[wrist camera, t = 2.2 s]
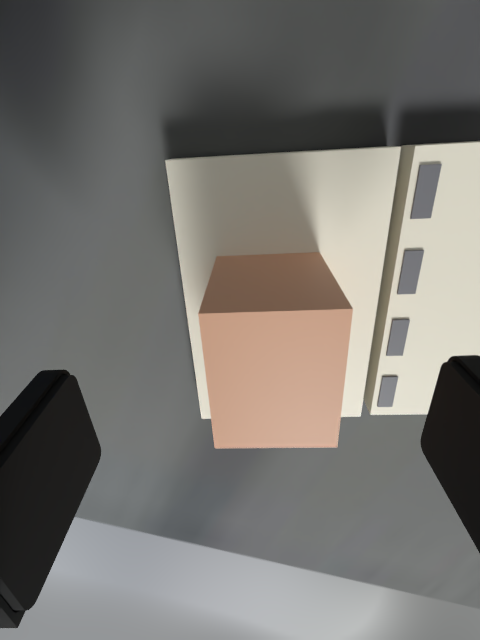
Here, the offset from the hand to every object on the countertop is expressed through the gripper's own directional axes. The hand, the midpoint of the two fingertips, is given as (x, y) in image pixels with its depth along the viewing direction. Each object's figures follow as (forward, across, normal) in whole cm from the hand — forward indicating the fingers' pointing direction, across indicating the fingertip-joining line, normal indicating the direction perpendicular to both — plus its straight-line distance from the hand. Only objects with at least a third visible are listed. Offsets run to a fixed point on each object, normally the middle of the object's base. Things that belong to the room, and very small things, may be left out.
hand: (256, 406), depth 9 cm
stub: (+7, -1, 0) cm, 7 cm away
